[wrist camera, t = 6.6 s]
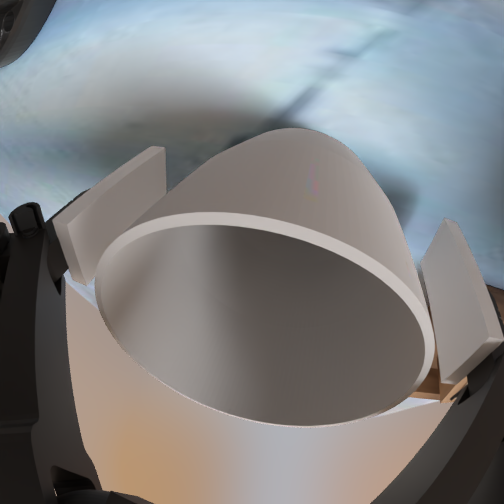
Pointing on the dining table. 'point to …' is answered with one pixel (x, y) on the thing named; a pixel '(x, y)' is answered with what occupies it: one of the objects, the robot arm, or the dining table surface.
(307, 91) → the dining table surface
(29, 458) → the robot arm
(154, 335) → the cup
